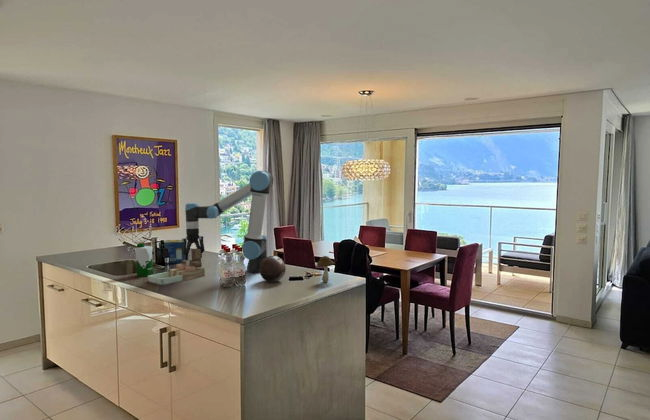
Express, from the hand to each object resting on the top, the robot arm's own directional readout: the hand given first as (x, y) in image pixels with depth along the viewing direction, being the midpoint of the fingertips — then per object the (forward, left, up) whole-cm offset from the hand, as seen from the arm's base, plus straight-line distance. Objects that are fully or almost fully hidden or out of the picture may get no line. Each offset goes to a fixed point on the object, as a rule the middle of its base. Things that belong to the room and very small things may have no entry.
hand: (193, 264), depth 261 cm
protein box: (+49, -16, -7) cm, 52 cm away
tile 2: (0, +7, -2) cm, 7 cm away
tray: (0, +20, -7) cm, 21 cm away
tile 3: (+5, +6, -2) cm, 8 cm away
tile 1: (-5, +6, -2) cm, 8 cm away
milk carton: (+25, +19, -7) cm, 32 cm away
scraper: (0, 0, -1) cm, 1 cm away
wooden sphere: (-53, -18, -7) cm, 56 cm away
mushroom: (-78, -36, -7) cm, 86 cm away
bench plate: (0, +5, -7) cm, 9 cm away
